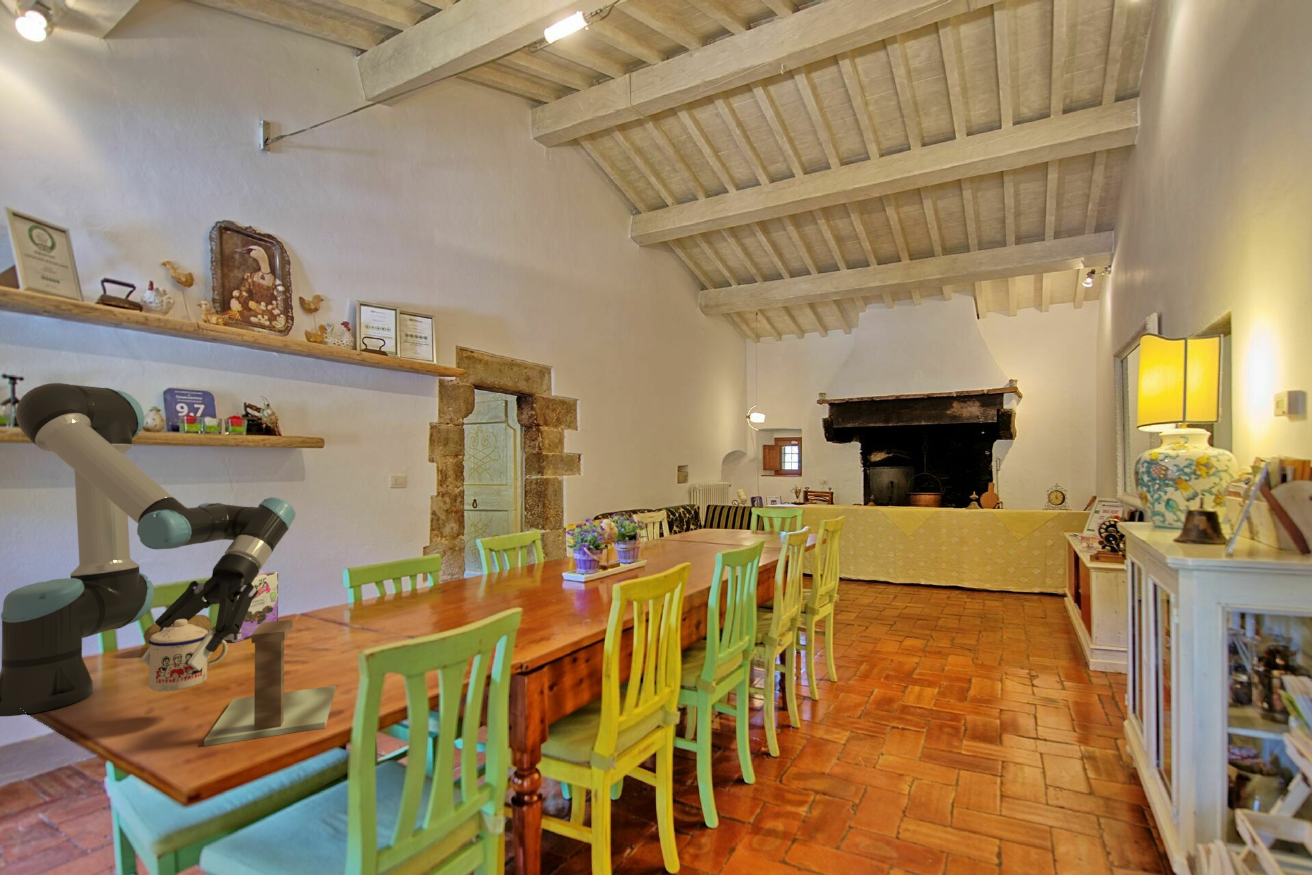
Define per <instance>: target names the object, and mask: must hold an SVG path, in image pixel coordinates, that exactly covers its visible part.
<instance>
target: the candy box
mask: <svg viewBox="0 0 1312 875" xmlns="http://www.w3.org/2000/svg"><path fill="white" fill-rule="evenodd" d="M251 584H252V585H253V586H254V587H255V588H256V589H257V590H258V594H257V595H256V596H255V598H254V599H253V600H252V602H251V604H250V607H249V609H248V612H247V614H246V617H245V619H244V622H243V624H242V626H241V629H240V631H239V633H238V634H236V635H233V634H230V635H228V636H227V637H225V638H224V639H223V640H225V641H226V643H228V642H229V643H238V642H241V641H243V640H247V639H252V634H253V632H254V631H255V630H256V629H257V628H258V627H259V625H260V624H261V623H262V622H272V621H279V572H278V571H264V570H263V571H259V573H258V574H257V576H256V577H255V579H254V580H253V582H252V583H251ZM238 597H239V596H237V598H236V602H237V599H238ZM236 602H235V604H236ZM218 605H220V604H218ZM233 609H234V608H233Z"/></svg>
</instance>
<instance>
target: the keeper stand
mask: <svg viewBox="0 0 1312 875" xmlns="http://www.w3.org/2000/svg"><path fill="white" fill-rule="evenodd" d="M293 622H294V621H293V619H285V620H278V621H272V622H262V623H261V624H260V625H259V627H258V628H257V629H256V630H255V631H254V632H253V634H252V637H251V644H254V694H253V696H245V697H239V698H238V697H236V698H232V700H231V701H230V703H229V705H228V706H227V707H226V709H225V710H224V712H223V713H222V714H221V716H220V717H219V719H218V720H217V722H216V723H215V724H214V725H213V727H212V728H211V729H210V732H209V733H208V734H207V735H206V737H205V739H204V740H203V743H204V744H203V746H204V747H208V746H215V745H221V744H223V745H224V744H228V743H234V742H241V741H247V740H255V739H254V738H256V739H261V738H269V737H274V736H280V735H281V736H282V735H289V734H293V733H300V732H307V731H314V730H321V729H325V728H326V726H327V722H328V719H329V715H330V712H331V707H332V705H333V700H334V697H335V695H336V694H335V693H336V687H337V686H336V685H329V686H322V687H321V686H320V687H314V688H308V689H307V688H306V689H298V690H291V691H285V640H286V638H287V637H288V636H289V634H290V633H291V631H292V629H293V625H294V624H293Z"/></svg>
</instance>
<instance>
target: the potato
mask: <svg viewBox="0 0 1312 875" xmlns="http://www.w3.org/2000/svg"><path fill="white" fill-rule="evenodd" d="M211 623H212V621H211V618H210V617H209V616H207V615H205V614H196V615H195V616H194V617H193V618H191V619H190V620H189V621H187V624H192V625H195V626H197V627H203V628H206V629H208V630H209V631H210V630H212V625H211ZM171 626H173V624H172V625H171ZM160 629H161V628H160V627H159V626H158V625H157V624H156V623H154V624H152V625H151V626H148V627H147V628H146V630H145V631H144V634H143V638H144V639H143V640H144V641H145V643H146V644H147V645H150V643H149V640H150V638H151V636H152V635H154V634H156V633H158V632H159V631H160Z"/></svg>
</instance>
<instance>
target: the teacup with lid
mask: <svg viewBox="0 0 1312 875" xmlns="http://www.w3.org/2000/svg"><path fill="white" fill-rule="evenodd" d="M208 632H209V630H208V629H206V628H203V627H197V626H195V625H192V624H187V620H186V619H178V620H176V621H175V622H174V625H173V626H170V627H168V628H166V629H165V630H163V631H161V632H158V633H156V634H154V635H152V636H151V638H150V640H149V643H150V646H149V647H150V663H149V666H148V667H149V668H148V669H149V670H148V688H149V689H150V690H151V691H153V692H154V691H155V692H174V691H180V690H187V689H189V688H193V687H195V686H199V685H200V684H202V683H203V682H205V681H206V680H207V676H208V667H210V666H211V667H212V666H214V665H216V664H218V663H220V662H221V661H222V660H223V659H224V658H225V657H226V654H228V653H227V652H228V642H226V641H225V640H223V641H222V642H221V644H220V645H222V650H221V653H220V654H219V656H218V657H216V658H215V659H213V660H209V661H208V660H207V661H206V662H205V664H204V665H203V667H202V668H201V670H200V671H199V670H195V669H194V668H193V667H192V666H190V665H189V664H188V662H189V660H190V659H191V657H192V656H193V654H194V653H195V651H196V650H197V648H198V647H199V646H200V644H201V643H202V641H203V640H204V638H205V637H206V635H207V634H208Z"/></svg>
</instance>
